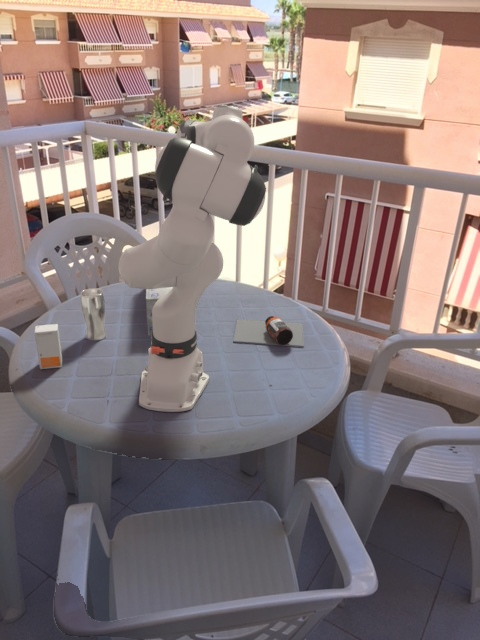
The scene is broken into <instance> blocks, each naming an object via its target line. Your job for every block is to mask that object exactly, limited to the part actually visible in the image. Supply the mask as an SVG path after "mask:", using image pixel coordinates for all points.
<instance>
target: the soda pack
mask: <svg viewBox="0 0 480 640" xmlns="http://www.w3.org/2000/svg"><path fill="white" fill-rule="evenodd" d="M172 288H173V287H168V288H157V289H145V307H146V310H145V311H146V327H147V336H148V337H152V332H153V322H152V309H153V306H154V305H155V303H156V302H157V300H158V299H160V298H161V297H163V296H164V295H166V294H167V293H169V292H170V291H171V290H172Z"/></svg>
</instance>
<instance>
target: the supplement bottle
mask: <svg viewBox="0 0 480 640" xmlns="http://www.w3.org/2000/svg"><path fill="white" fill-rule="evenodd" d="M264 321H265V324H266V330H267V332H268V333H269V334H270V335H271V337H272V338H273V339H274V340H275V341H276V342H277V343H278V344H279V345H286V344H288V343H289V342H290V341H291V340H292V338H293V332H292V331H291V329H290V328H289V327H288V326H287V325H286V324H285V323H284V322H285V321H283V320H282V319H281V318H280V317H278V316H273V315H270V316H268V317H267V318H266V320H264Z"/></svg>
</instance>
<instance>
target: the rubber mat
mask: <svg viewBox="0 0 480 640" xmlns="http://www.w3.org/2000/svg"><path fill="white" fill-rule="evenodd" d="M265 321H266V320H257V319H256V320H253V319H241V318H240V319H236V324H235V329H234V335H233V341H232V343H237V344H251V345H253V344H254V345H265V346H281V347H293V348H294V347H295V348H305V347H304V346H305V345H304V326H303V323H301V322H300V323H299V322H298V323H297V322H285V321H283V322H284V323H285V324H286V325H287V326H288V327H289V328H290V329H291V331H292V332H293V338H292V340H291V341H290V342H289V343H288V344H286V345H279V344H278V343H277V342H276V341H275V340H274V339H273V338H272V337H271V335H270V334H269V333H268V332H267V330H266V324H265Z"/></svg>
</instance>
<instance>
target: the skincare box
mask: <svg viewBox="0 0 480 640" xmlns="http://www.w3.org/2000/svg"><path fill="white" fill-rule="evenodd" d="M34 338H35V346H36V351H37V359H38V364H39V369H40V370H48V369H57V368H63V355H62V353H63V352H62V347H61V340H60V338H61V337H60V331H59V324H58V323H55V324H44V325H35V326H34Z"/></svg>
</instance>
